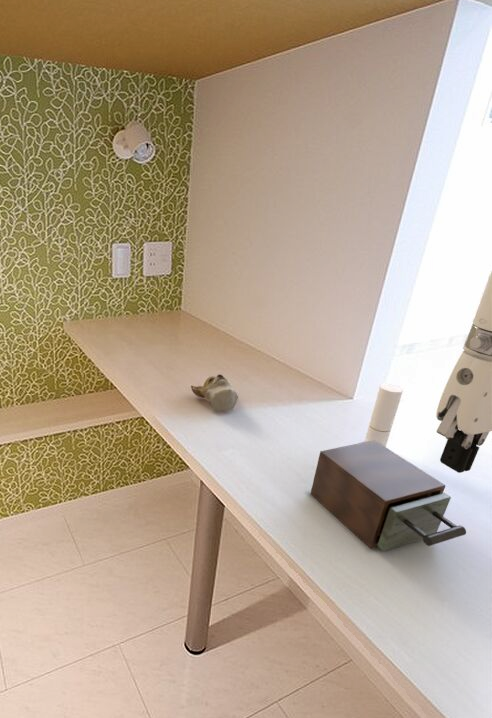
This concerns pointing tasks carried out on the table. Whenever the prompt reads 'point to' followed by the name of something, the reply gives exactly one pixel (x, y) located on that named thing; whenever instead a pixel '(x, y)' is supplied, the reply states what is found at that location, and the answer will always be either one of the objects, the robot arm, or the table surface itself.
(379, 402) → the tube
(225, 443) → the table surface
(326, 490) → the cabinet
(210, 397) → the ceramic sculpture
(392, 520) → the drawer
